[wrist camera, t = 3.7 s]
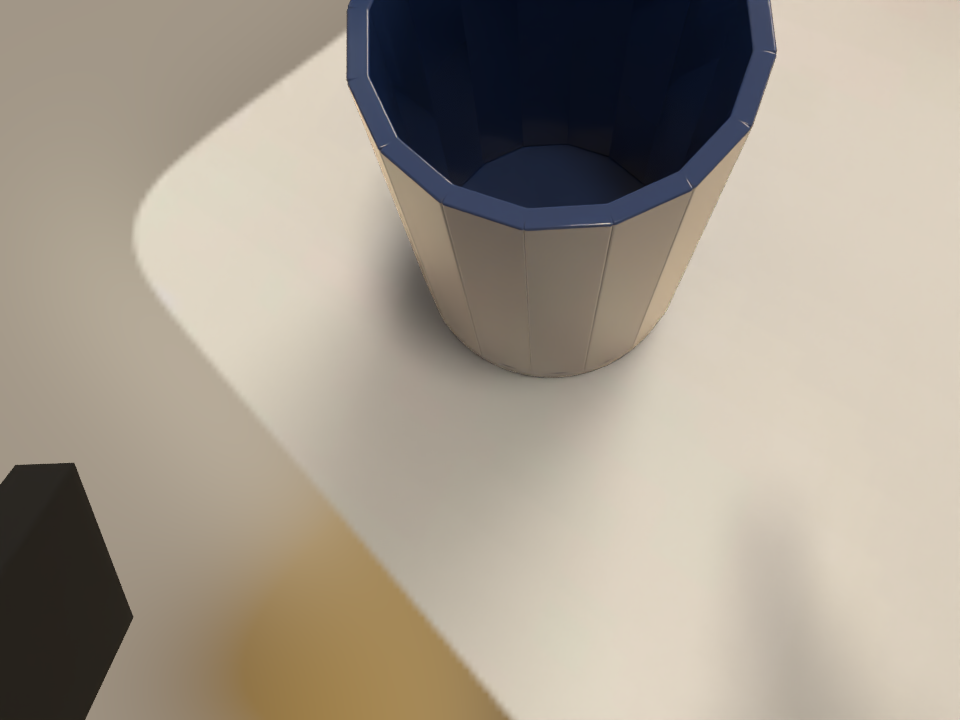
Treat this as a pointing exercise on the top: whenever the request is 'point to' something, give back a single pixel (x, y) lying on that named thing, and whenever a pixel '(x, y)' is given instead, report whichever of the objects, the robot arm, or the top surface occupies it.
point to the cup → (556, 157)
